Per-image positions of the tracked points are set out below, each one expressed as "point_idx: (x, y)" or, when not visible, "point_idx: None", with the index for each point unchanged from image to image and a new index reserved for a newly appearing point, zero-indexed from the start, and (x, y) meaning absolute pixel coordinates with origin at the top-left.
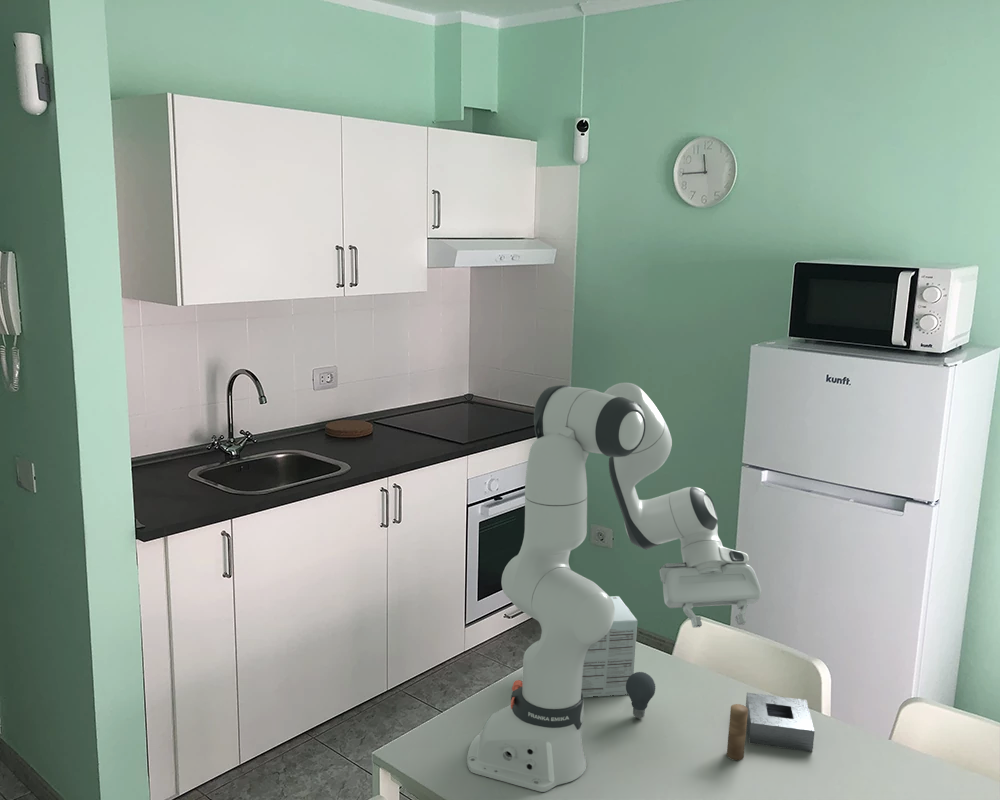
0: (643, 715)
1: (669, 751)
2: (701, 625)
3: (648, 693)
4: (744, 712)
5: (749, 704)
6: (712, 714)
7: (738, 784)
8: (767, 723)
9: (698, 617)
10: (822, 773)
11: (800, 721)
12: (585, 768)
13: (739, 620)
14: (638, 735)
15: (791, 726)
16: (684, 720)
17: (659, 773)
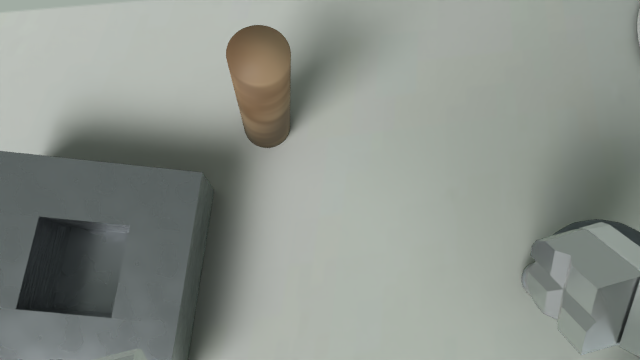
0: (526, 268)
1: (441, 124)
2: (532, 245)
3: (568, 226)
4: (244, 30)
5: (178, 296)
6: (300, 344)
7: (281, 12)
8: (145, 176)
9: (609, 277)
10: (45, 76)
11: (19, 205)
12: (637, 23)
13: (130, 356)
14: (525, 188)
15: (65, 168)
16: (393, 290)
17: (466, 33)
